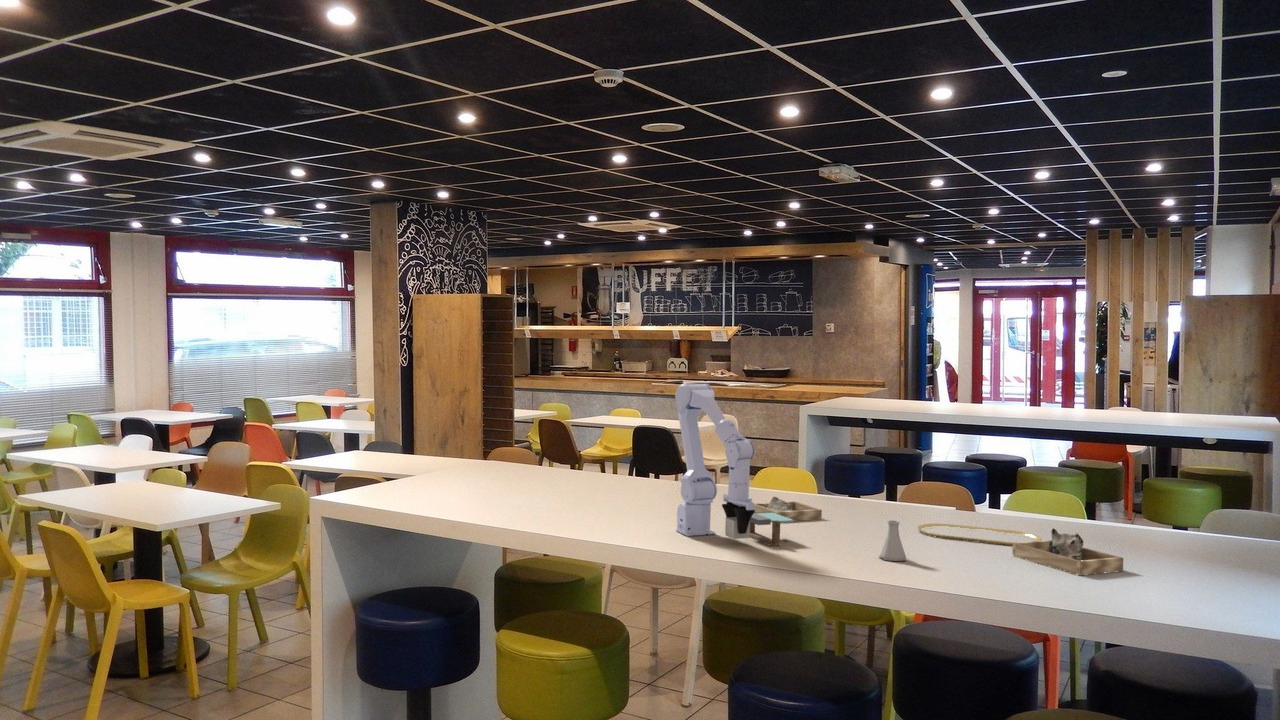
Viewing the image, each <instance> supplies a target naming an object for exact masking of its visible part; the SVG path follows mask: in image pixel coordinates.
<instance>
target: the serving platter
mask: <svg viewBox="0 0 1280 720" xmlns="http://www.w3.org/2000/svg"><path fill="white" fill-rule="evenodd" d="M932 526H949V527H960V528H969V529H985V530H992V531H997V532H1004V533H1015V534H1021V535H1025V536H1029V537H1031V538H1034V539H1035V540H1037V541H1043V539H1042V537H1040V536H1039V535H1036V534H1032V533H1028V532H1024V531H1019V530H1018V531H1017V530H1011V529H1000V528H992V527H991V528H990V527H982V526H981V527H980V526H979V527H978V526H971V525H963V524H960V525H959V524H950V523H924V524H923V523H922V524H919V525H917V530H918V531H919V532H920V533H921V534H923V533H924V534H923V535H925V534H927V535H926V536H928V535H931V536H930V537H932V536H936V537H935V538H938V537H942V538H941V539H945V538H950V539H949V540H954V539H959V540H958V541H963V540H968V541H967V542H972V541H979V542H978V543H981V542H988V543H987V544H990V543H996V544H995V545H1000V544H1005V545H1004V546H1009V545H1013V543H1018V542H1017V541H1015V542H1014V541H1003V540H1002V541H1001V540H993V539H987V538H986V539H983V538H975V537H965V536H958V535H957V536H956V535H947V534H939V533H933V532H930V531H929V532H928V531H924V530H923V531H922V530H921V529H922V528H925V527H932Z"/></svg>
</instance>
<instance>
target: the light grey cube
mask: <svg viewBox="0 0 1280 720" xmlns="http://www.w3.org/2000/svg"><path fill="white" fill-rule="evenodd" d="M724 526H725V529H724V530H725V532H724V533H725V534H724V535H725V536H726V537H728V538H730V539H733V540H738V539H749V538H751V537H750V521H749V525H748V528H747V532H746V533H745V534H739V533H738V526H737V517H725V525H724Z"/></svg>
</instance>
